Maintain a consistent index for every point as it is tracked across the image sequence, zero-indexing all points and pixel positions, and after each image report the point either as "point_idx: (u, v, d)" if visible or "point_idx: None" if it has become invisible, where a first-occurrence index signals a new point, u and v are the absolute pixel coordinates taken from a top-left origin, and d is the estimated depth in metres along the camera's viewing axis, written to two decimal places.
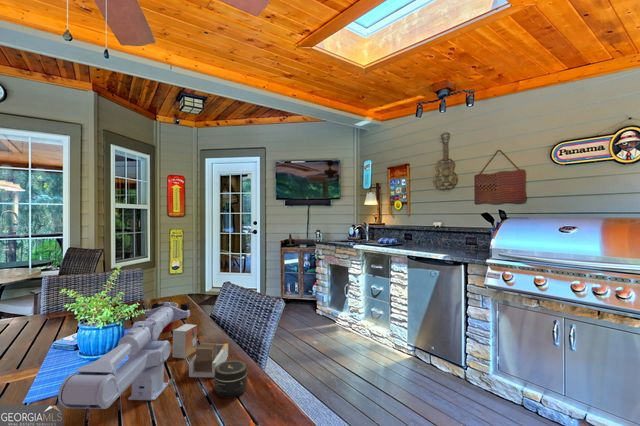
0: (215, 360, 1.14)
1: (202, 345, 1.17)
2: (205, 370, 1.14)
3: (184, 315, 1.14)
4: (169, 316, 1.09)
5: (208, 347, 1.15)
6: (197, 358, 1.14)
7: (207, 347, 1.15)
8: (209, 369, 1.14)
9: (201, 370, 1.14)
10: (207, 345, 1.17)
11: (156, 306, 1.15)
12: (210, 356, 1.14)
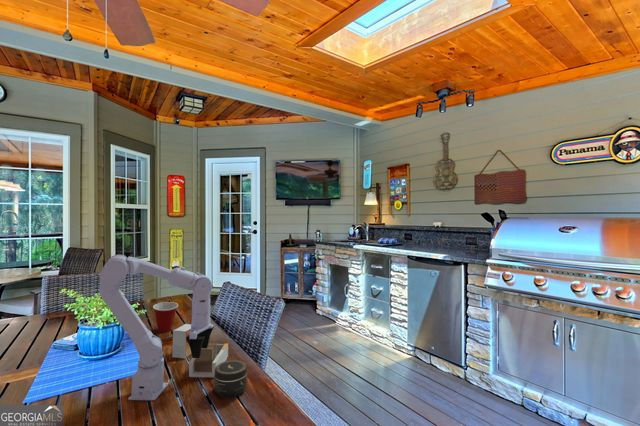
0: (215, 360, 1.14)
1: None
2: (205, 370, 1.14)
3: (192, 332, 1.04)
4: (200, 316, 1.07)
5: (208, 347, 1.15)
6: (197, 358, 1.14)
7: (207, 347, 1.15)
8: (209, 369, 1.14)
9: (201, 370, 1.14)
10: None
11: None
12: (210, 356, 1.14)
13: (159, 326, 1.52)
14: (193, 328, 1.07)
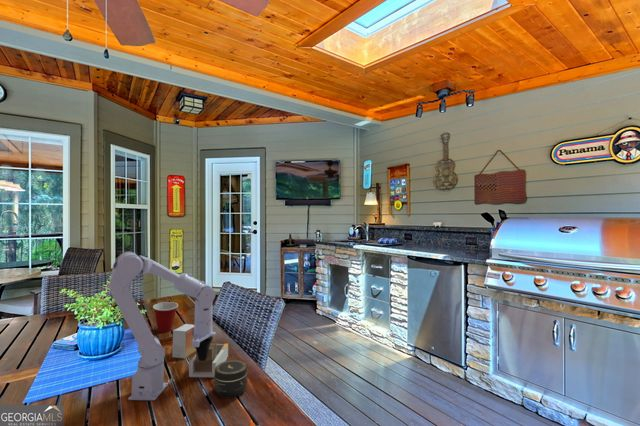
0: (215, 360, 1.14)
1: None
2: (205, 370, 1.14)
3: (195, 340, 1.06)
4: (203, 324, 1.10)
5: None
6: (197, 358, 1.14)
7: None
8: (209, 369, 1.14)
9: (201, 370, 1.14)
10: None
11: None
12: (210, 356, 1.14)
13: (159, 326, 1.52)
14: (196, 336, 1.10)
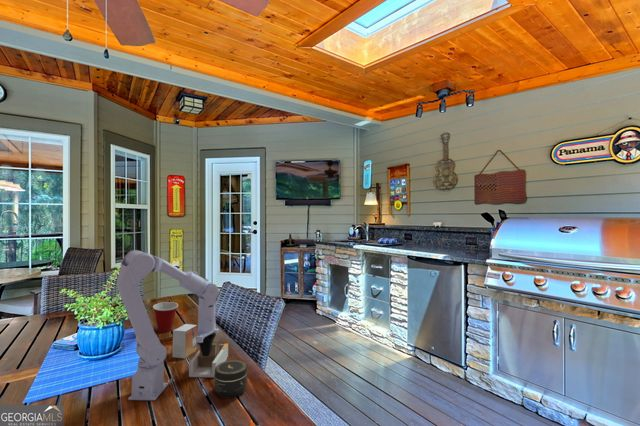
0: (215, 360, 1.14)
1: None
2: (208, 365, 1.17)
3: None
4: (206, 320, 1.13)
5: None
6: (201, 354, 1.17)
7: None
8: None
9: (204, 365, 1.17)
10: None
11: None
12: (213, 351, 1.17)
13: (159, 326, 1.52)
14: (199, 332, 1.13)
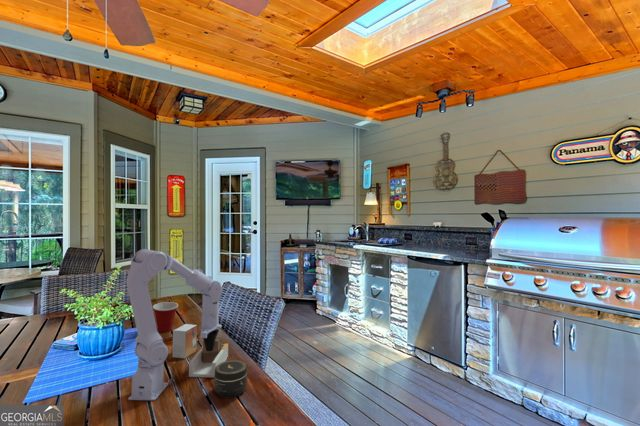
0: (215, 360, 1.14)
1: None
2: (211, 361, 1.21)
3: None
4: (210, 317, 1.17)
5: None
6: (204, 349, 1.21)
7: None
8: None
9: (208, 361, 1.21)
10: None
11: None
12: (216, 347, 1.21)
13: (159, 326, 1.52)
14: (203, 328, 1.17)
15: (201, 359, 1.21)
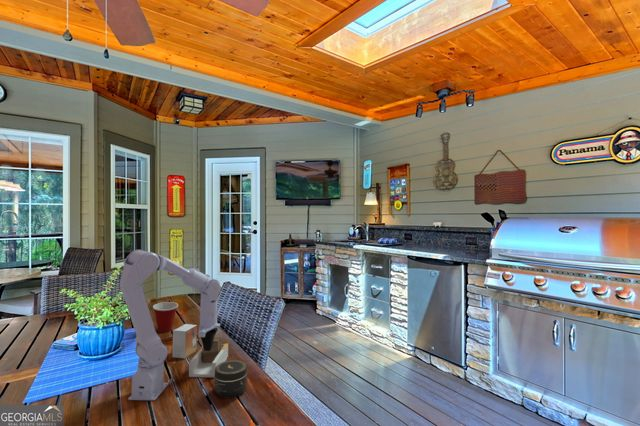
0: (215, 360, 1.14)
1: None
2: (211, 361, 1.21)
3: None
4: (208, 315, 1.15)
5: (214, 339, 1.22)
6: None
7: None
8: None
9: (208, 361, 1.21)
10: None
11: None
12: (216, 347, 1.21)
13: (159, 326, 1.52)
14: (201, 327, 1.15)
15: (201, 359, 1.21)
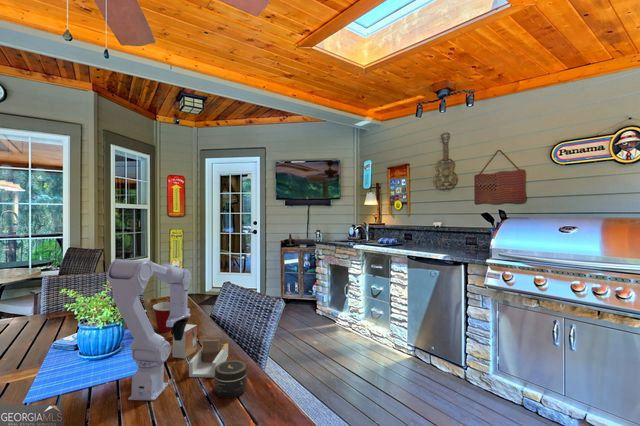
0: (215, 360, 1.14)
1: (208, 337, 1.24)
2: (211, 361, 1.21)
3: (169, 321, 1.12)
4: (177, 305, 1.15)
5: (214, 339, 1.22)
6: (204, 350, 1.21)
7: (213, 339, 1.23)
8: None
9: (208, 361, 1.21)
10: (213, 337, 1.24)
11: None
12: (216, 347, 1.21)
13: (159, 326, 1.52)
14: (171, 317, 1.15)
15: (201, 359, 1.21)
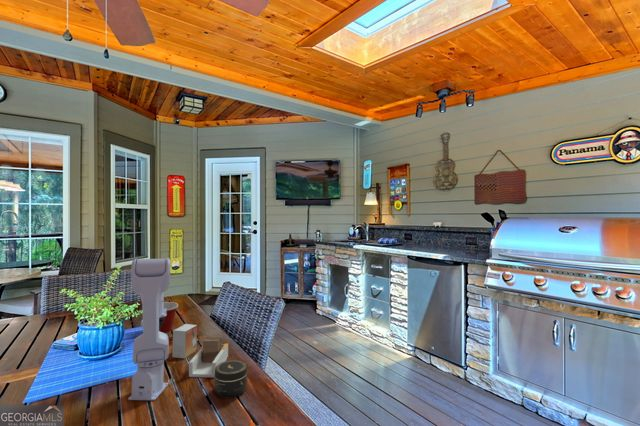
0: (215, 360, 1.14)
1: (208, 337, 1.24)
2: (211, 361, 1.21)
3: None
4: None
5: (214, 339, 1.22)
6: (204, 350, 1.21)
7: (213, 339, 1.23)
8: None
9: (208, 361, 1.21)
10: (213, 337, 1.24)
11: None
12: (216, 347, 1.21)
13: None
14: None
15: (201, 359, 1.21)
